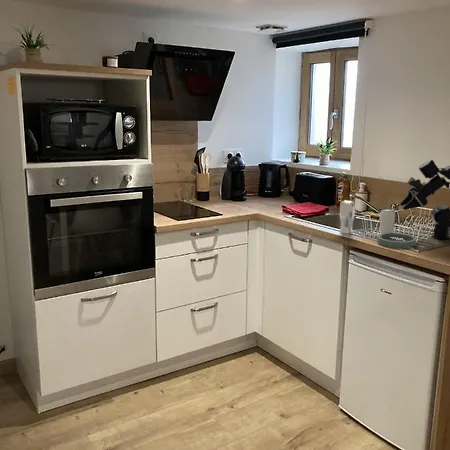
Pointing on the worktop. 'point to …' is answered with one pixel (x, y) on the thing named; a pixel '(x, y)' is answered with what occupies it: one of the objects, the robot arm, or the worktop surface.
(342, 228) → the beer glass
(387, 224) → the can
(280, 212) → the worktop surface
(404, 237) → the dish
